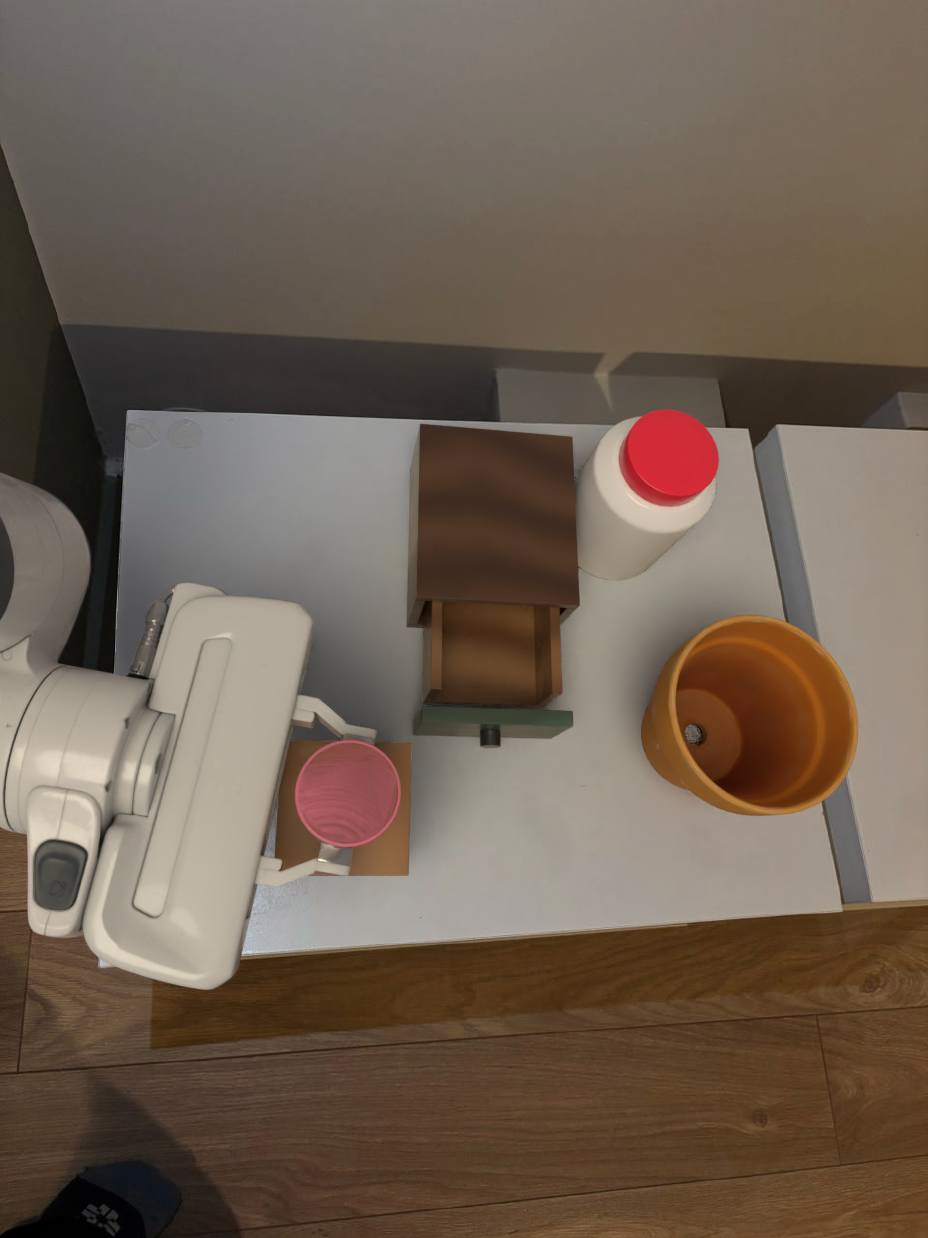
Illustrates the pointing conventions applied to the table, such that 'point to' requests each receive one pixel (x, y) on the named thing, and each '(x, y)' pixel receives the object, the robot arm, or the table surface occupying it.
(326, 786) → the pink-rimmed cylinder
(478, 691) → the drawer
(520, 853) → the table surface
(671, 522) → the pill bottle
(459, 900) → the table surface
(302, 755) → the stand
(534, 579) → the cabinet
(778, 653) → the flower pot
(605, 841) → the table surface
